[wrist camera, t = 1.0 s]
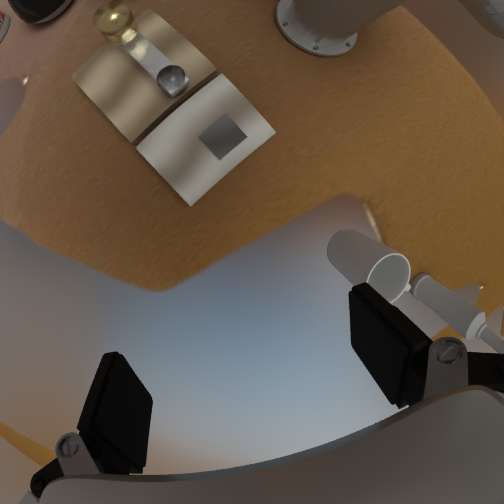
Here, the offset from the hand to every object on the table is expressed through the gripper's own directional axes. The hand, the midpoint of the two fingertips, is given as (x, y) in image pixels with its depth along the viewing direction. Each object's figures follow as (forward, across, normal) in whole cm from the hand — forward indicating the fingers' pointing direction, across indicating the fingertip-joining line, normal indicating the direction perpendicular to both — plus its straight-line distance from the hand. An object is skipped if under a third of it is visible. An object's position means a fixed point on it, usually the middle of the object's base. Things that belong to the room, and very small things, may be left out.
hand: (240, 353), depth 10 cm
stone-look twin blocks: (+27, +2, -16) cm, 32 cm away
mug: (+27, -18, +12) cm, 35 cm away
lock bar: (+23, +3, -21) cm, 31 cm away
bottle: (+27, -32, +23) cm, 48 cm away
